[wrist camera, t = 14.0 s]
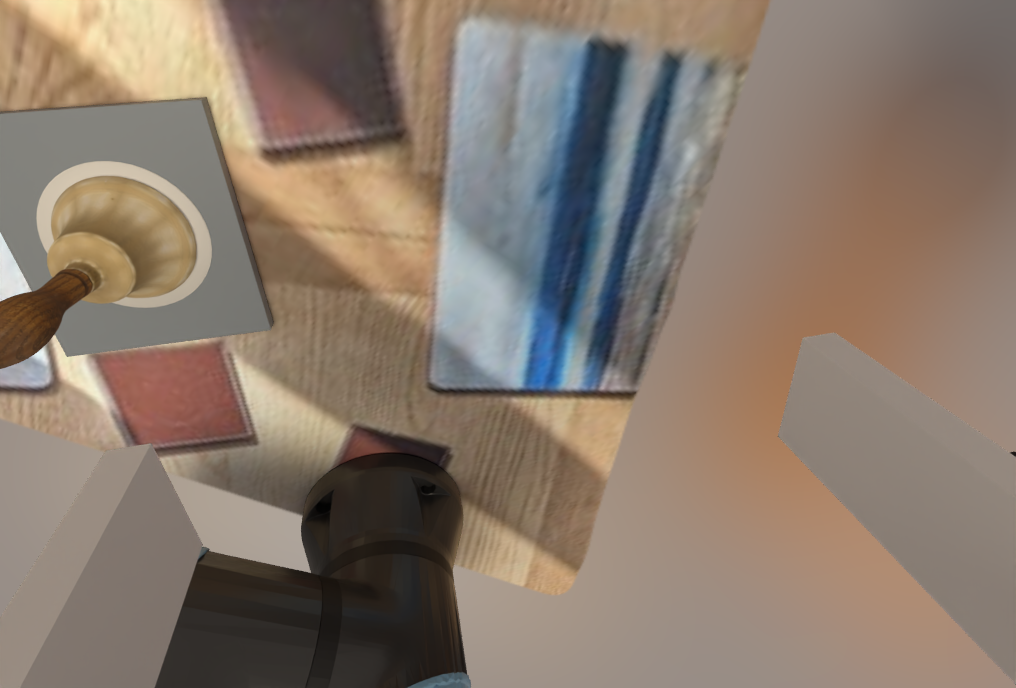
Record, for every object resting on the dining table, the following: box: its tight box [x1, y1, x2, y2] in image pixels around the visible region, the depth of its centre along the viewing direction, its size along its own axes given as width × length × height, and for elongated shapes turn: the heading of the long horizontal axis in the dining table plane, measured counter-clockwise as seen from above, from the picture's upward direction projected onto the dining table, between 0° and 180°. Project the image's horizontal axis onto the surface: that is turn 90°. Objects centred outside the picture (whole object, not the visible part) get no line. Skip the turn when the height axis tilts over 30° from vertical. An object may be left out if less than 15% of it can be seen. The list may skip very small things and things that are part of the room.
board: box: [0, 97, 273, 357], centre depth 37 cm, size 16×14×1 cm
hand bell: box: [0, 176, 196, 369], centre depth 30 cm, size 8×8×16 cm
